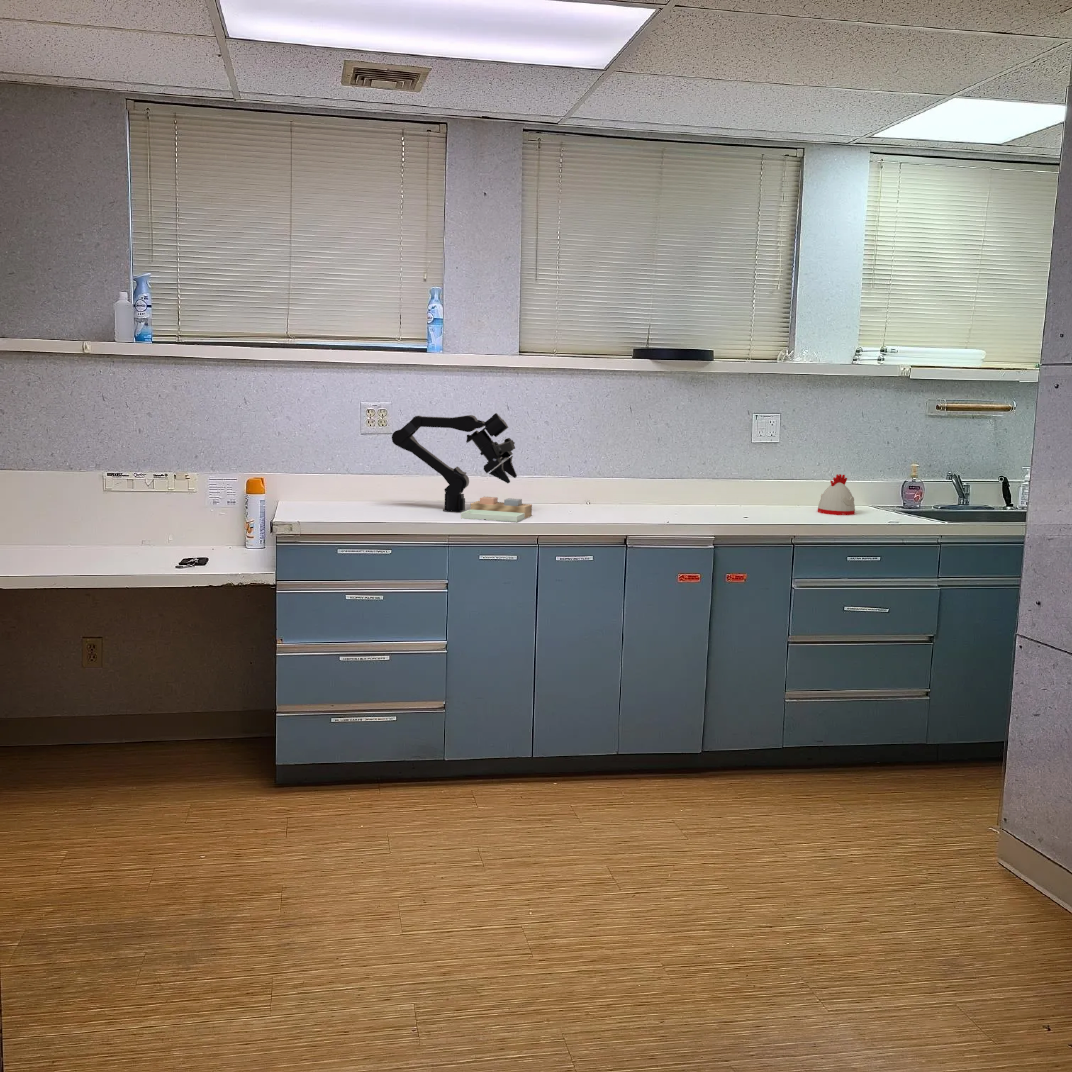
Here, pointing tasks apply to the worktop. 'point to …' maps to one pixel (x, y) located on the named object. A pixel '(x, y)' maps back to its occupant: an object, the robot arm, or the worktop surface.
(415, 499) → the worktop surface
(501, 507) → the oak board
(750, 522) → the worktop surface
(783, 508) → the worktop surface
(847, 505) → the kitchen timer
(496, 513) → the tray
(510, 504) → the slate tile
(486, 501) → the terracotta tile
